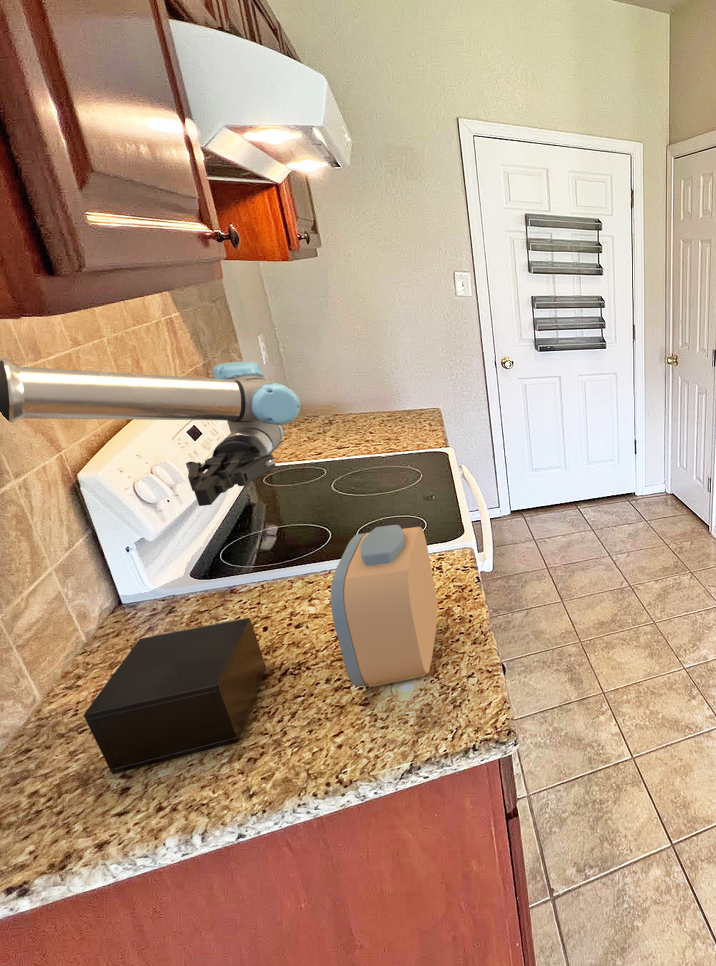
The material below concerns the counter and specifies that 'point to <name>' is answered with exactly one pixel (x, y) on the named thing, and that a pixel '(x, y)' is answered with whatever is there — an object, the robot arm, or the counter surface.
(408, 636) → the alarm clock
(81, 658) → the counter surface
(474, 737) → the counter surface
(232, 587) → the counter surface
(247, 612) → the counter surface
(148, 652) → the cabinet
